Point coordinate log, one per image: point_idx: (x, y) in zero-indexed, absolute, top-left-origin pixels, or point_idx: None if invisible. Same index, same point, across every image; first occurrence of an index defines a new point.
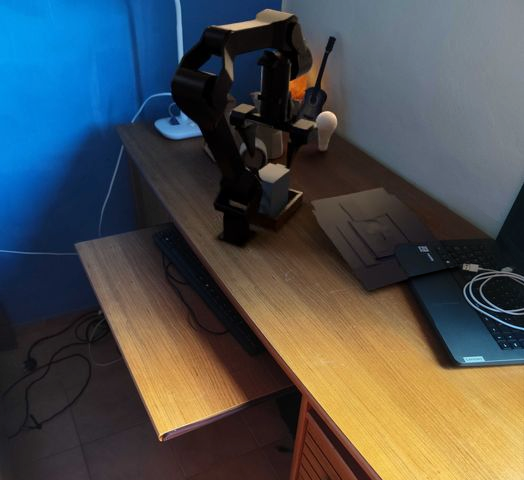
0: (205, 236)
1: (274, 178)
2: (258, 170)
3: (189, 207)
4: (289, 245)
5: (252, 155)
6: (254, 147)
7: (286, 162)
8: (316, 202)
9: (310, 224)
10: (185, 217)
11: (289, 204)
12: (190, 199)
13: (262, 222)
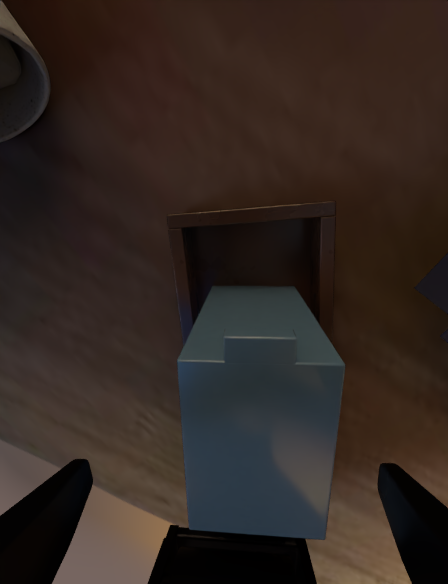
0: (176, 499)
1: (308, 498)
2: (28, 81)
3: (51, 424)
4: (386, 435)
5: (81, 504)
6: (35, 532)
7: (410, 577)
8: (445, 277)
9: (405, 310)
10: None
11: (325, 323)
12: (21, 392)
13: None
